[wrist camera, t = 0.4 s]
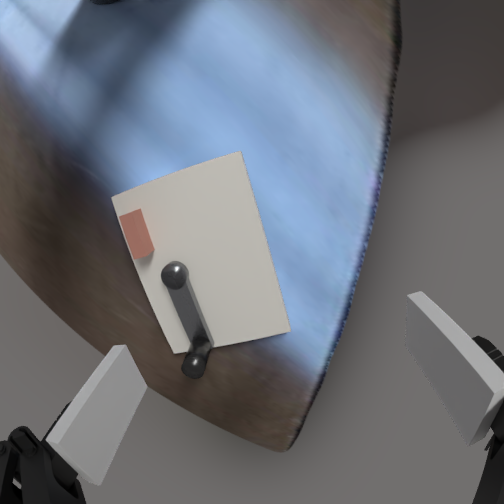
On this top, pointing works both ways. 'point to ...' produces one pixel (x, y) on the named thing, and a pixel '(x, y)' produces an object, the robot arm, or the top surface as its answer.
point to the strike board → (205, 250)
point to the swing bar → (188, 318)
